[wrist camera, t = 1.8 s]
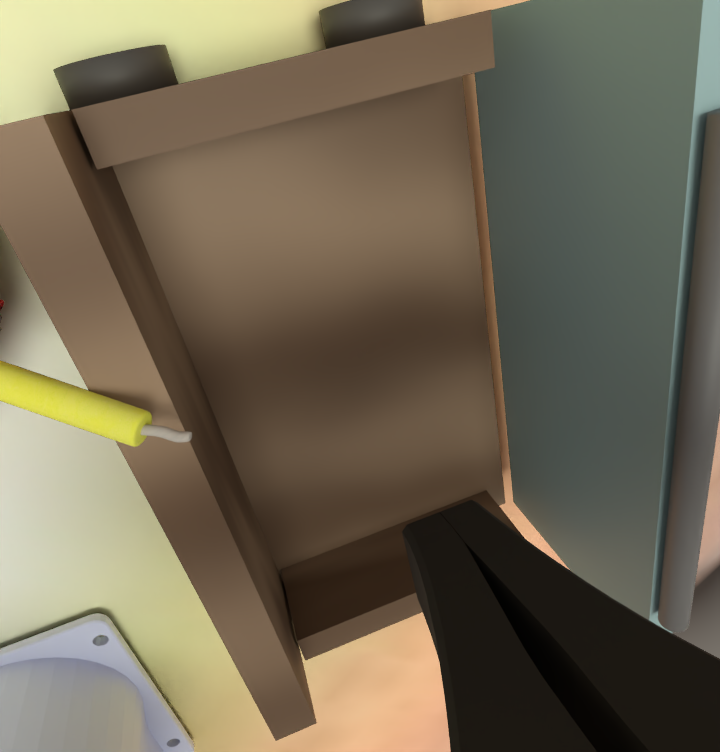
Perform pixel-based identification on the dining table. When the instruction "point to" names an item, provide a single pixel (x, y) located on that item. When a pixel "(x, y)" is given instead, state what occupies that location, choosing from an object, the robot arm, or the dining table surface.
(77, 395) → the cupcake
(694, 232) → the panel
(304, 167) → the cart bed
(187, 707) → the dining table surface
